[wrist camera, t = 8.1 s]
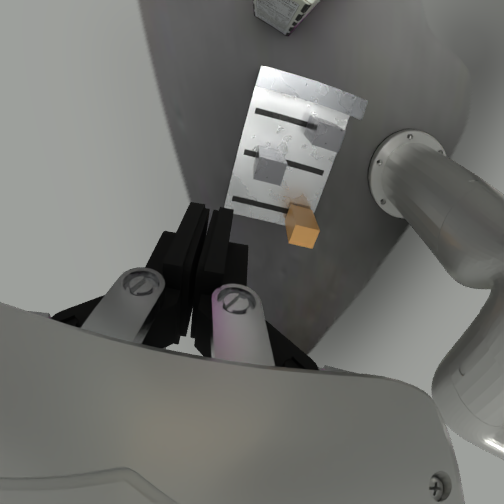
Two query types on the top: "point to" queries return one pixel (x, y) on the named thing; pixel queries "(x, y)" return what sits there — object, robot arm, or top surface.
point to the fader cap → (301, 226)
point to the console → (288, 144)
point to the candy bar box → (283, 12)
